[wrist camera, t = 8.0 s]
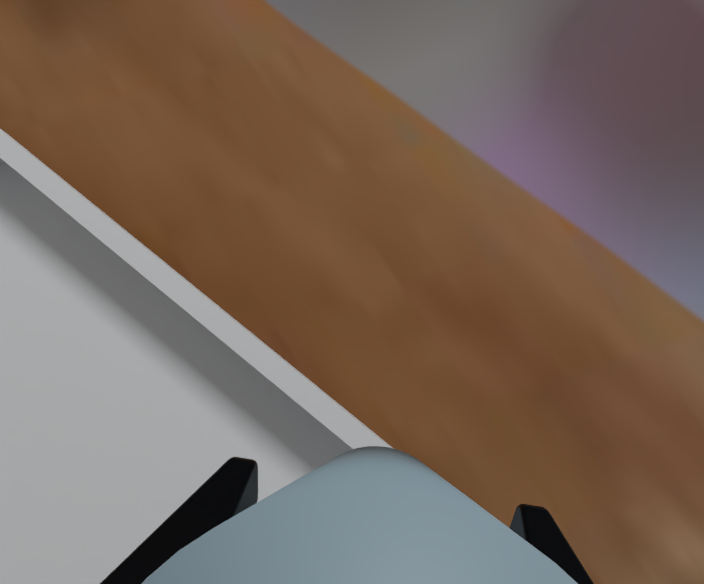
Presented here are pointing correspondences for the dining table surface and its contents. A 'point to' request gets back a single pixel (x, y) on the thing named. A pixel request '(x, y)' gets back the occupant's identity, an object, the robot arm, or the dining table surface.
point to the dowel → (362, 533)
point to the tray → (125, 388)
